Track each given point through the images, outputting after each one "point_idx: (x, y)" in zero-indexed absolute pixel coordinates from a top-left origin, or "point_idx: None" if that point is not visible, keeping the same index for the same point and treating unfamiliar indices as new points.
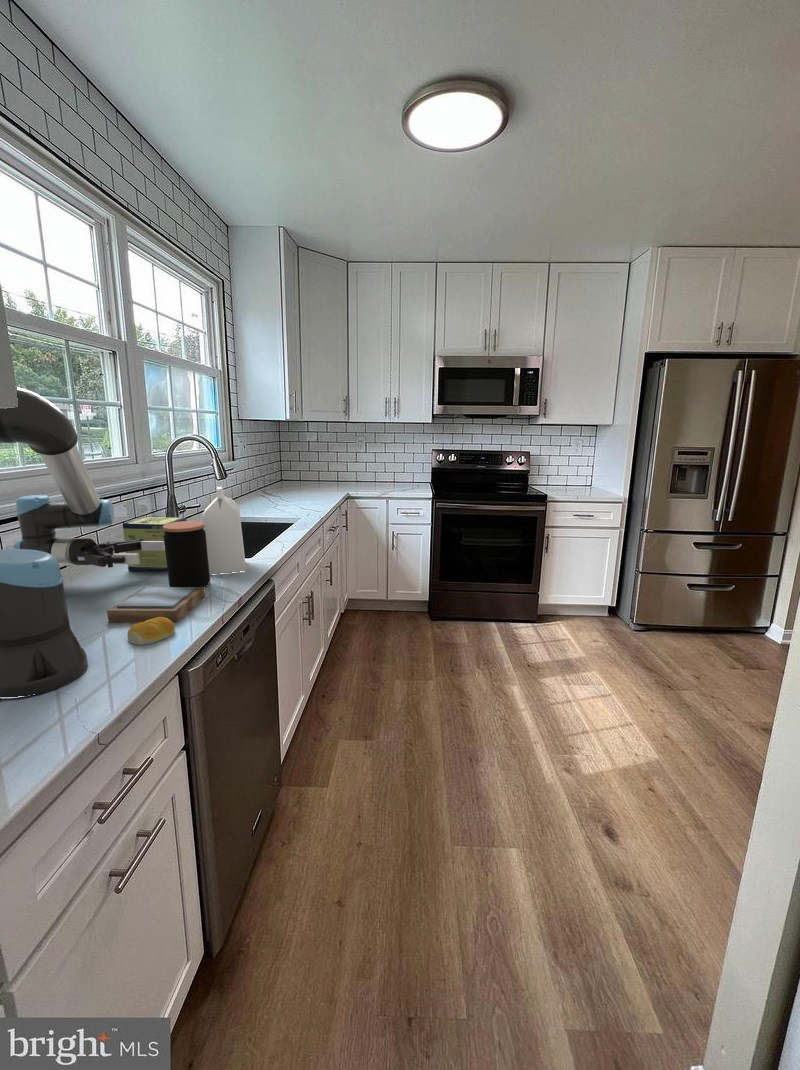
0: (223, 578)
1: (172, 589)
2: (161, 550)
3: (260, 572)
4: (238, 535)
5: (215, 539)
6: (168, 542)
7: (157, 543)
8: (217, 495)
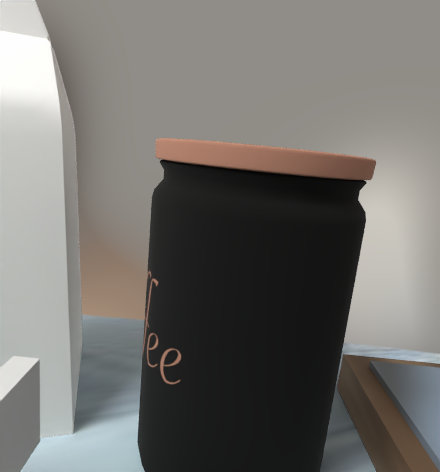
0: (134, 377)
1: (430, 410)
2: (26, 458)
3: (99, 318)
4: (77, 213)
5: (71, 244)
6: (359, 245)
7: (5, 414)
8: (42, 21)
